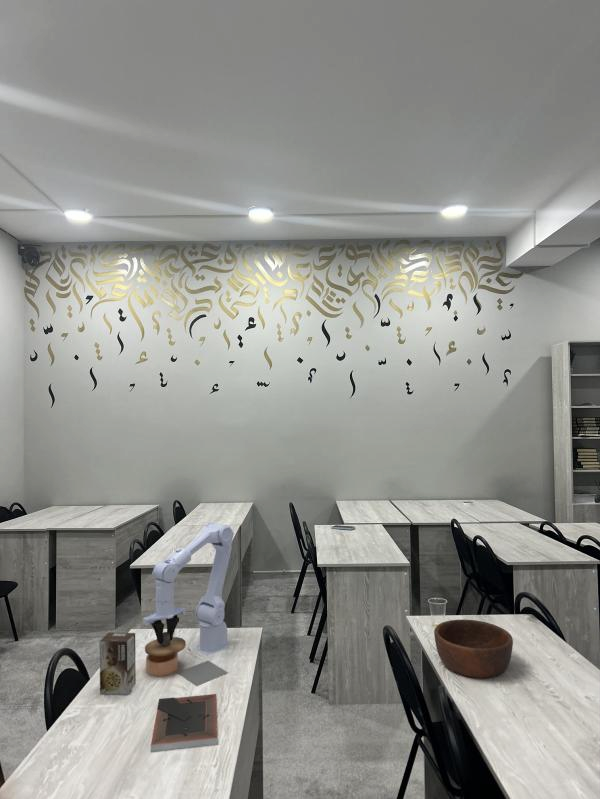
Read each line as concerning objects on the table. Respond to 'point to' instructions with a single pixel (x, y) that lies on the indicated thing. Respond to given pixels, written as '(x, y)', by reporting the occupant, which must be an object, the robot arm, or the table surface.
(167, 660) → the bowl
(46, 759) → the table surface
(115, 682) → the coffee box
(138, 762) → the table surface
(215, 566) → the robot arm
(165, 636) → the lid
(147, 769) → the table surface
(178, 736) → the picture frame
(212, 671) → the mat
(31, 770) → the table surface
